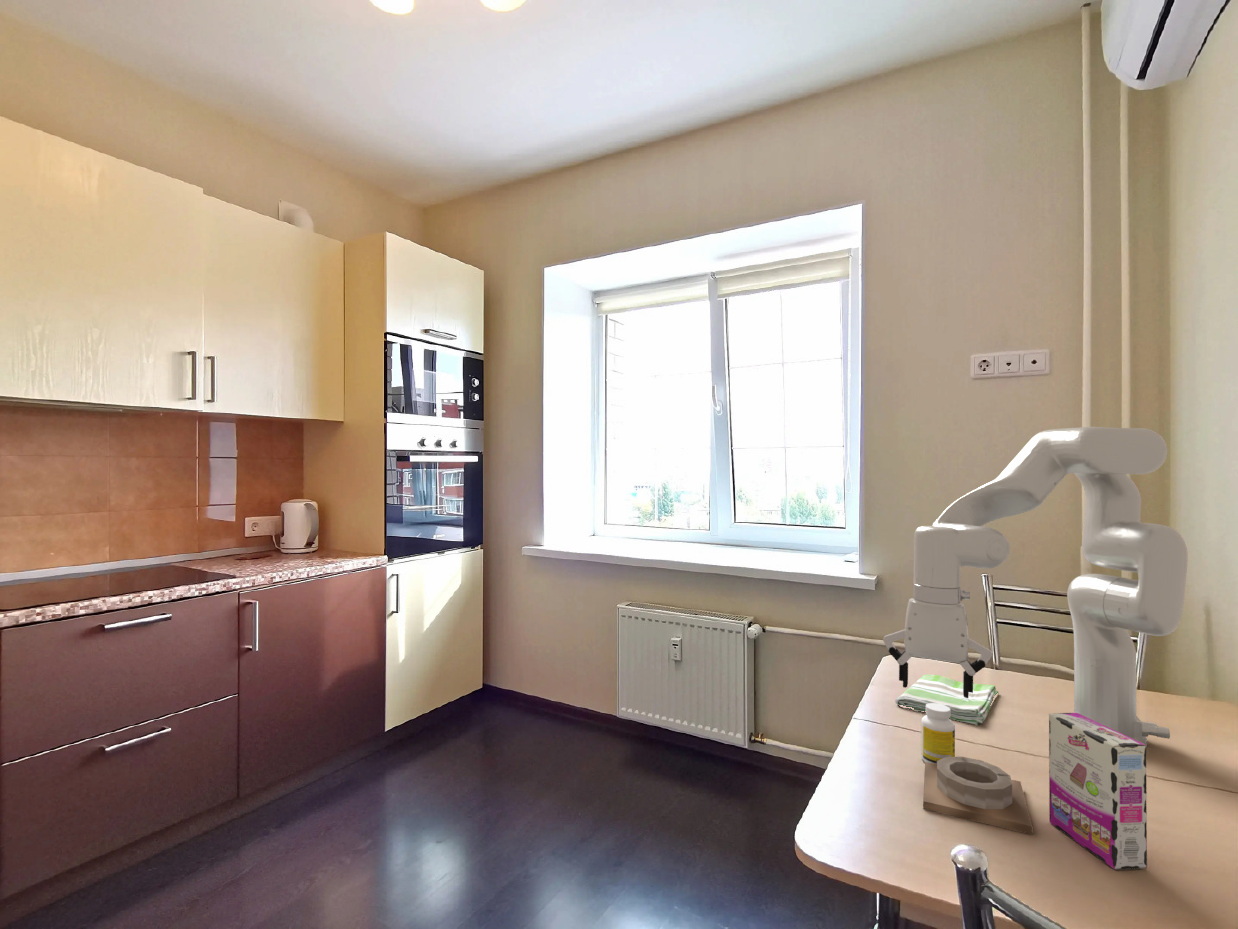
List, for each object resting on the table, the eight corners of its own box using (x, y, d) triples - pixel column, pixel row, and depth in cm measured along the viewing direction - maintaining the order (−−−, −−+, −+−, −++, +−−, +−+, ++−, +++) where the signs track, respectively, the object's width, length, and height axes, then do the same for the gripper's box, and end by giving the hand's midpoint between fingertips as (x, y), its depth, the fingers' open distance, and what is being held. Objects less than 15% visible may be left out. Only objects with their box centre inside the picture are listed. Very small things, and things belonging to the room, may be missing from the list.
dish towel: (893, 708, 133) (893, 692, 133) (920, 680, 151) (920, 666, 151) (982, 729, 122) (982, 712, 122) (1000, 696, 140) (1000, 681, 140)
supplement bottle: (959, 770, 105) (959, 714, 105) (926, 767, 106) (925, 712, 106) (949, 756, 110) (949, 702, 110) (917, 753, 111) (917, 700, 111)
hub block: (1020, 788, 99) (1020, 763, 99) (1032, 834, 86) (1032, 805, 86) (925, 768, 105) (925, 744, 105) (923, 808, 93) (923, 781, 93)
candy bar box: (1150, 870, 79) (1149, 744, 79) (1115, 872, 78) (1114, 746, 79) (1078, 820, 90) (1077, 710, 90) (1047, 822, 90) (1046, 711, 90)
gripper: (991, 597, 107) (989, 693, 107) (885, 586, 115) (884, 675, 115) (994, 604, 101) (993, 707, 100) (882, 593, 109) (880, 687, 109)
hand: (934, 690), depth 108 cm, fingers open, 9 cm apart
